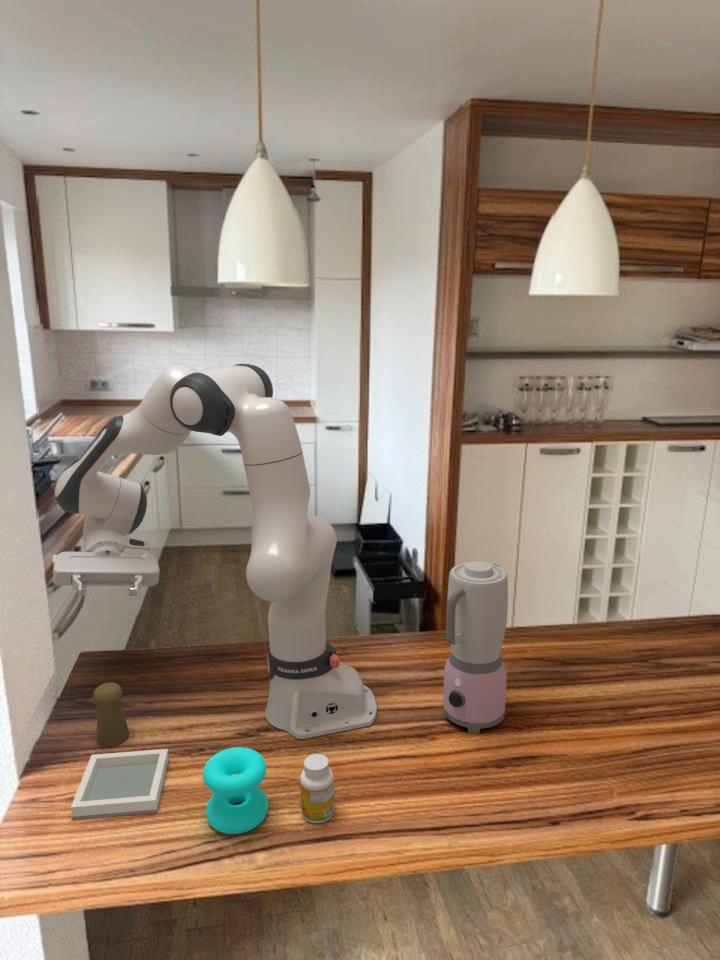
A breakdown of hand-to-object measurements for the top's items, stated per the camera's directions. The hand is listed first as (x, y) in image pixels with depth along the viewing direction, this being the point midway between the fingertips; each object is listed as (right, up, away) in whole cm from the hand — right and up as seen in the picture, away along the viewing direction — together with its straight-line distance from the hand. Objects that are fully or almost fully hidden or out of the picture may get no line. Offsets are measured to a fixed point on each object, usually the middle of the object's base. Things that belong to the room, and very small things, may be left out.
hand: (108, 593), depth 138 cm
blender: (+70, -25, +3) cm, 75 cm away
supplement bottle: (+42, -33, -22) cm, 57 cm away
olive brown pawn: (+1, -28, -1) cm, 28 cm away
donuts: (+29, -33, -22) cm, 49 cm away
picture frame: (+8, -31, -15) cm, 36 cm away
